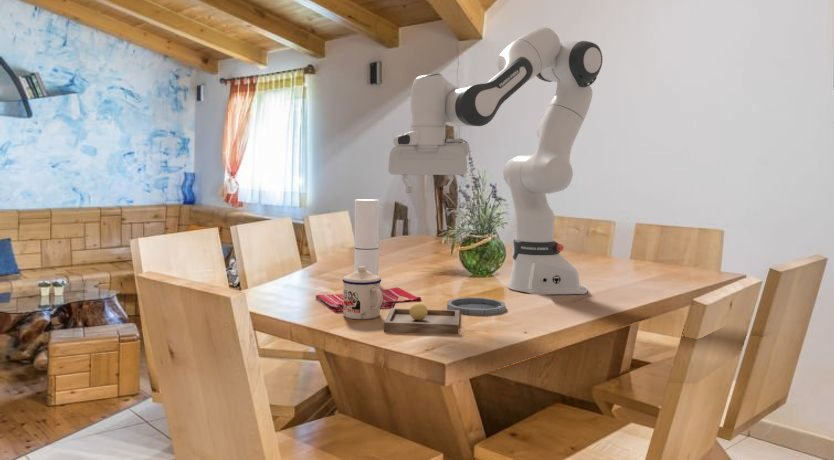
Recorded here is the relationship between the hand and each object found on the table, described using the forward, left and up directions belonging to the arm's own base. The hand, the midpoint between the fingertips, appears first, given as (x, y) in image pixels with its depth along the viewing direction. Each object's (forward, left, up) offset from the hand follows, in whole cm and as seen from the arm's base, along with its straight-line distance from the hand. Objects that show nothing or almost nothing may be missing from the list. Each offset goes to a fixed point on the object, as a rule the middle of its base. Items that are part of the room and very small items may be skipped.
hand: (427, 192), depth 168 cm
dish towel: (+15, +3, -29) cm, 33 cm away
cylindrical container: (+19, -22, -29) cm, 41 cm away
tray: (-1, +25, -28) cm, 38 cm away
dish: (-13, +11, -28) cm, 33 cm away
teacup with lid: (+13, +19, -29) cm, 37 cm away
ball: (-1, +25, -27) cm, 37 cm away
